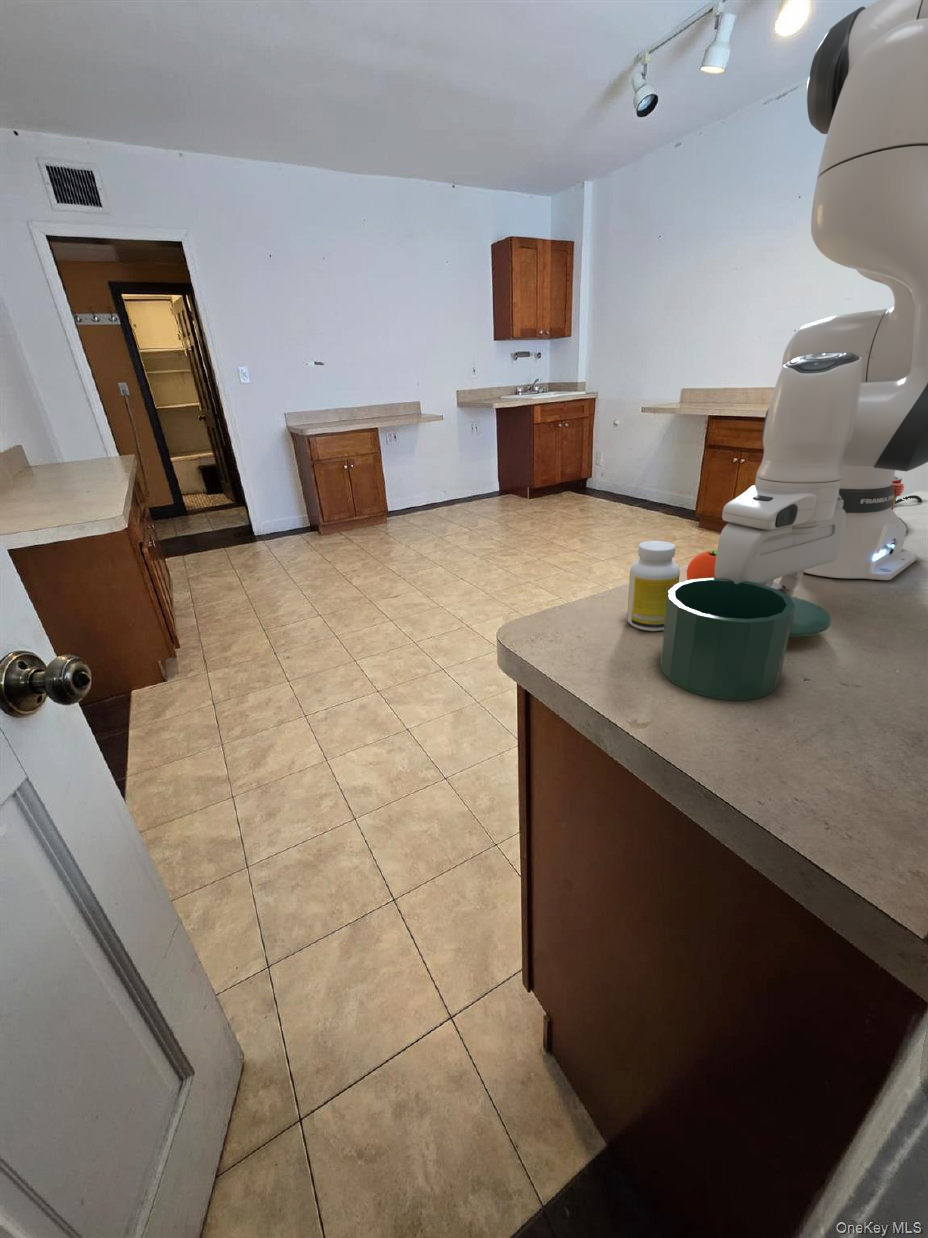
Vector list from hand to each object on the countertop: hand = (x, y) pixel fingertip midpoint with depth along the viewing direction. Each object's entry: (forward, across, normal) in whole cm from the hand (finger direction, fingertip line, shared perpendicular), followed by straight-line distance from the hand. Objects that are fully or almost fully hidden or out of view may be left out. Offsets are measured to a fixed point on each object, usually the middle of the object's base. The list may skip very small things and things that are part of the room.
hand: (771, 604), depth 69 cm
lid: (+2, 0, 0) cm, 2 cm away
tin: (+4, +15, +4) cm, 16 cm away
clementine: (+4, -4, -13) cm, 14 cm away
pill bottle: (+4, +12, -10) cm, 16 cm away
